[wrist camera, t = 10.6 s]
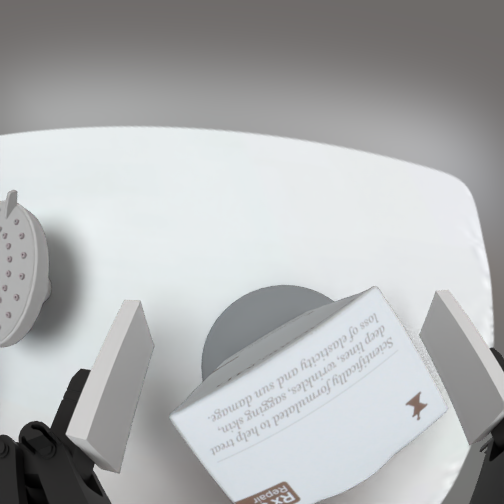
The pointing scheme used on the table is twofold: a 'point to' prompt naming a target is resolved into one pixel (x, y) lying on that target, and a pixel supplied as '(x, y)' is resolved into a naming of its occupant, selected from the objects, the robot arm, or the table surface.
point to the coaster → (255, 320)
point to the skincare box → (312, 405)
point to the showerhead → (21, 270)
